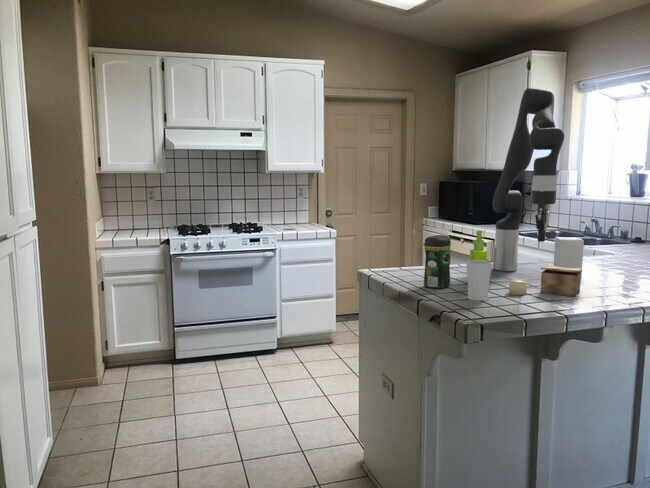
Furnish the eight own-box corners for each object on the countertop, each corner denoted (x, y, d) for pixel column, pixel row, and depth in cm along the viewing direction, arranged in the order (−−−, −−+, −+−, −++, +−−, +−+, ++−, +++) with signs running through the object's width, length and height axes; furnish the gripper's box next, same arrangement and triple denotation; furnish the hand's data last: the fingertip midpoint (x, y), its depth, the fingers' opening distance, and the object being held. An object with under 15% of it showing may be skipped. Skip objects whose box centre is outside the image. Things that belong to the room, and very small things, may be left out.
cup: (461, 295, 178) (463, 260, 176) (485, 295, 179) (486, 259, 177) (470, 301, 170) (471, 264, 169) (494, 301, 171) (496, 263, 169)
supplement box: (582, 278, 208) (584, 239, 206) (557, 277, 210) (559, 239, 208) (576, 273, 217) (578, 237, 215) (552, 273, 218) (554, 236, 216)
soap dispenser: (486, 284, 196) (488, 230, 193) (485, 288, 189) (487, 232, 187) (469, 283, 198) (471, 229, 195) (468, 287, 191) (470, 231, 189)
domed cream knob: (507, 293, 181) (507, 281, 181) (511, 290, 186) (511, 279, 185) (524, 295, 178) (524, 283, 178) (527, 292, 183) (528, 280, 182)
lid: (540, 270, 181) (540, 267, 181) (546, 268, 189) (546, 265, 189) (578, 273, 175) (578, 270, 175) (582, 271, 183) (582, 268, 183)
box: (540, 292, 182) (541, 272, 181) (545, 288, 190) (546, 268, 189) (575, 296, 176) (577, 275, 176) (579, 291, 184) (580, 271, 183)
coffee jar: (433, 283, 199) (435, 233, 196) (453, 286, 193) (454, 234, 191) (419, 287, 192) (421, 235, 189) (439, 290, 186) (440, 237, 184)
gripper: (535, 188, 185) (533, 238, 187) (528, 189, 173) (525, 242, 176) (559, 189, 181) (556, 240, 183) (553, 190, 170) (550, 244, 172)
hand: (541, 241), depth 179 cm, fingers closed
